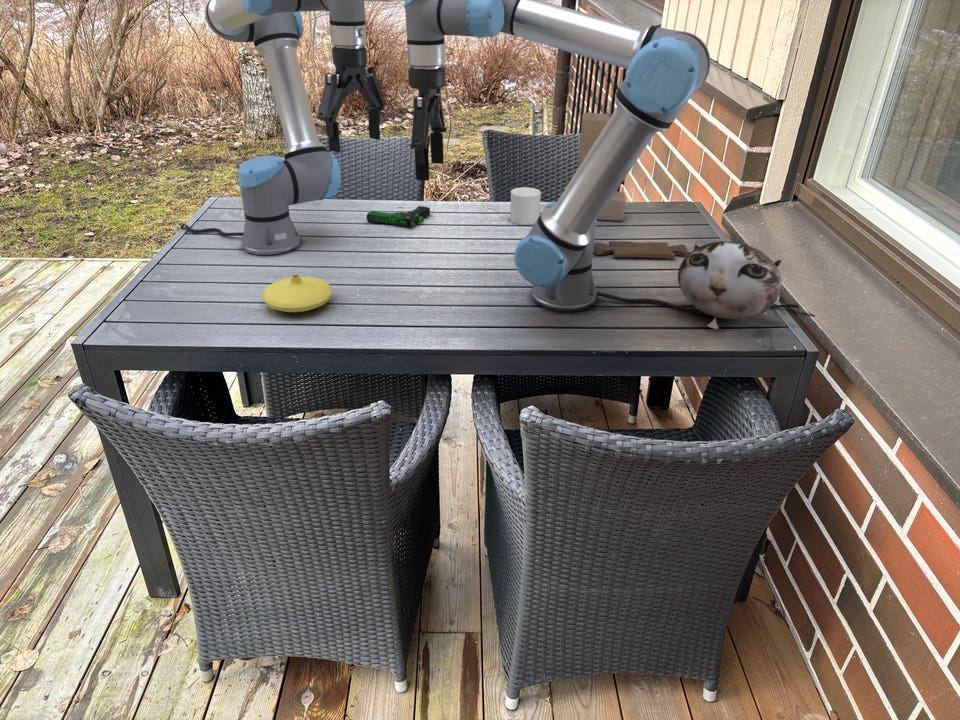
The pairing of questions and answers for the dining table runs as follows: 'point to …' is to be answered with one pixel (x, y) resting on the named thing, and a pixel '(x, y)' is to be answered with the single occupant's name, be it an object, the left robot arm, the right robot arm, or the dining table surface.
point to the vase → (297, 294)
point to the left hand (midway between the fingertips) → (355, 144)
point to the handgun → (400, 217)
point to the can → (525, 205)
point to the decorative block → (589, 135)
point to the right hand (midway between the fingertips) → (430, 171)
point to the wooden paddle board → (640, 249)
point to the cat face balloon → (729, 280)
